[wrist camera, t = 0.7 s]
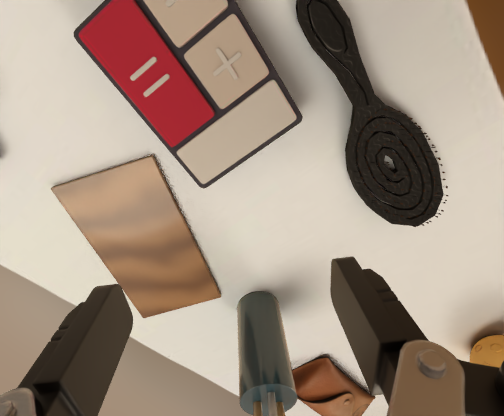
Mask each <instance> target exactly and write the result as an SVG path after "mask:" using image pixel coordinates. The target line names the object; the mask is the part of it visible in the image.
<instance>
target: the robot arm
mask: <svg viewBox="0 0 504 416" xmlns="http://www.w3.org/2000/svg"><path fill="white" fill-rule="evenodd" d="M331 298H332V302H333V306H334V308H335V311H336V313H337V315H338V318H339V320H340V322H341V325H342V327H343V329H344V332H345V334H346V336H347V339H348V341H349V343H350V346H351V348H352V350H353V353H354V355H355V357H356V360H357V362H358V365H359V367H360V369H361V372H362V374H363V376H364V379H365V381H366V383H367V386H368V388H369V390H370V393H371V395H372V396H373V395H381V394H383V395H384V397H385V399H386V401H387V403H388V405H389V408H388V412H387V416H504V361H503V362H502V364H501V366H500V368H498V367H493V366H487V365H481V364H476V363H470V362H465V361H461V360H458V359H456V357H455V356H454V355H453V354H451V353H450V352H449V351H448V350H446V349H445V348H443V347H442V346H440V345H438V344H436V343H433V342H430V341H429V340H428V339H427V338H426V337H425V335H424V334H423V333H422V331H421V330H420V328H419V327H418V326H417V324H416V323H415V321H414V320H413V319H412V317H411V316H410V315H409V313H408V312H407V310H406V309H405V308H404V306H403V305H402V304H401V302H400V301H398V298H397V297H396V295H395V294H394V293H393V291H391V288H390V287H389V286H388V284H387V283H386V282H385V280H384V279H383V277H381V276H380V275H378V274H377V273H375V272H374V271H373V270H371V269H364V270H362V268H361V267H360V265H359V264H358V262H357V261H356V259H355V258H354V257H345V258H337V259H332V263H331ZM132 326H133V316H132V312H131V310H130V307H129V305H128V302H127V300H126V297H125V295H124V293H123V290H122V288H121V286H120V285H119V284H113V285H105V286H97V287H95V288H94V289H93V290H92V292H91V293H90V295H89V297H88V298H87V300H86V301H85V302H82V303H80V304H79V305H78V306H77V307H76V308H75V309H73V310H72V311H71V312H70V313H69V314H68V315H67V316H66V318H65V319H64V321H63V322H62V324H61V325H60V327H59V330H57V331H56V332H55V334H54V335H53V337H52V338H51V342H48V344H47V345H46V347H45V348H44V350H43V351H42V353H41V354H40V356H39V357H38V358H37V360H36V361H35V363H34V364H33V366H32V367H31V369H30V370H29V372H28V373H27V374H26V376H25V377H24V379H23V380H22V382H21V383H20V385H19V386H18V387H17V388H16V389H13V390H10V391H8V392H6V393H4V394H2V395H0V416H98V413H99V411H100V408H101V406H102V403H103V400H104V398H105V395H106V393H107V391H108V388H109V385H110V383H111V380H112V378H113V375H114V373H115V370H116V368H117V365H118V363H119V360H120V357H121V355H122V352H123V350H124V348H125V345H126V343H127V340H128V338H129V335H130V333H131V330H132Z"/></svg>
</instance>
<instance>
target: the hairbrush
mask: <svg viewBox="0 0 504 416" xmlns="http://www.w3.org/2000/svg"><path fill="white" fill-rule="evenodd" d="M308 2H309V0H296V12H297V19H298V22H299V24H300V26H301V28H302V30H303V32H304V35H305V36H306V38H307V40H308V42H309V43H310V45H311V47H312V48H313V50H314V51H315V52H316V53H317V54H318V55H319V56H320V58H321V59H322V60H323V61H324V62H325V63H326V65H327V66H328V67H329V68H330V69H331V70H332V71H333V73H334V74H335V75H336V77H337V79H338V80H339V82H340V84H341V86H342V87H343V89H344V91H345V93H346V94H347V96H348V98H349V100H350V101H351V103H352V105H353V110H352V119H351V126H350V131H349V135H348V139H347V143H346V148H345V152H346V164H347V171H348V174H349V176H350V179H351V182H352V184H353V187H354V189H355V190H356V191H357V193H358V195H359V196H360V197H361V198H362V200H363V201H364V202H365V204H366V205H367V206H368V207H369V208H370V209H372V210H373V211H374V212H375V213H377V214H378V215H379V216H381V217H382V218H384V219H385V220H387V221H388V222H390V223H391V224H399V225H410V226H413V227H416V226H419V225H423V226H424V224H422V223H424V222H425V221H427V220H428V219H430V218H431V217H433V216H435V214H436V212H437V210H438V207H439V205H440V202H441V200H442V197H443V189H442V183H441V177H440V171H439V165H438V162H437V160H436V158H435V156H434V154H433V151H432V150H431V148H435V147H431V148H430V146H429V144H428V142H427V140H426V138H425V136H424V134H427V133H423V132H422V131H421V130H420V129H422V128H421V127H420V126H418V127H420V128H418V127H417V126H416V125H415V124H417V123H413V122H412V121H411V120H410V119H412V118H408V117H407V116H406V114H403V113H401V112H400V111H397V110H395V109H393V108H391V107H389V106H387V105H385V104H384V103H383V102H382V101H381V100H380V99H379V98H378V97H377V96H376V95H375V94H374V91H373V89H372V86H371V84H370V81H369V78H368V76H367V73H366V71H365V68H364V65H363V63H362V60H361V57H360V54H359V51H358V47H357V44H356V40H355V36H354V33H353V29H352V26H351V22H350V19H349V18H348V16H347V15H346V13H345V11H344V10H343V8H342V7H341V5H340V4H339V2H338V1H337V0H312V1H311V3H310V4H309V6H308V7H307V8H306V5H307V4H308ZM307 11H308V13H307ZM310 24H311V25H310ZM311 26H312V28H313V30H314V32H315V34H316V35H315V34H314V32H313V31H312V29H311ZM326 49H327V50H328V51H329V52H330V53H331V54H332V55H333V56H334V57H335V58H336V59H337V60H338V61H339V62H340V63H341V64H342V65H343V66H344V67H345V68H346V69H347V70H346V69H345V68H344V67H343V66H342V65H341V64H340V63H339V62H338V61H337V60H336V59H335V58H334V57H333V56H331V55H330V54H329V53H328V52H327V51H326ZM350 73H351V74H352V75H351V74H350ZM352 76H353V77H354V78H353V77H352ZM354 79H355V80H354ZM356 82H357V83H356ZM380 115H382V116H388V117H390V118H393V119H395V120H396V121H398V122H399V123H400V124H401V125H402V126H403V127H402V126H401V125H399V124H397V123H396V122H394V121H392V120H390V119H389V118H385V117H378V116H380ZM404 128H405V129H404ZM406 130H407V131H406ZM381 131H388V132H390V133H392V134H394V135H396V136H397V137H398V138H399V139H400V141H399V140H398V139H397V138H396V136H394V135H392V134H389V133H386V132H381ZM409 134H410V135H411V136H412V137H413V138H412V137H411V136H410V135H409ZM426 137H428V136H426ZM428 140H430V139H428ZM401 142H402V144H401ZM403 145H404V146H403ZM383 146H385V147H383ZM432 146H434V145H433V144H432ZM387 147H390V148H392V149H394V150H395V151H396V153H394V152H393V151H392V150H391V149H389V148H387ZM435 152H437V151H435ZM397 154H398V155H399V156H398V155H397ZM385 155H386V156H389V157H390V158H391V159H392V160H393V164H394V167H395V169H393V170H391V168H390V169H388V168H387V167H386V166H385V165H386V164H384V158H385ZM364 158H365V159H364ZM401 159H402V160H401ZM438 159H439V160H441V159H440V158H438ZM365 160H366V161H365ZM402 161H403V162H404V163H403V162H402ZM356 162H357V166H358V168H357V166H356ZM387 163H389V162H387ZM376 164H377V165H378V167H379V168H378V167H377V165H376ZM415 164H416V165H415ZM367 165H368V166H367ZM388 166H389V164H388ZM416 166H417V167H416ZM441 166H442V164H441ZM417 168H418V169H417ZM358 169H359V171H358ZM379 169H380V170H381V171H380V170H379ZM370 171H371V173H372V175H373V176H374V177H375V178H374V179H376V180H377V181H378V182H379V183H380V184H381V185H382V186H383V187H384V188H385V189H384V188H382V187H381V186H380V185H379V184H378V183H377V182H376V180H374V179H373V177H372V175H371V173H370ZM359 173H360V174H359ZM382 173H383V174H382ZM442 173H445V172H442ZM384 175H385V176H386V177H388V178H389V179H391V180H392V181H390V180H389V179H387V178H386V177H384ZM361 177H362V178H361ZM362 179H363V180H364V182H365V183H364V184H363V181H362ZM443 180H446V179H443ZM365 185H367V187H368V188H369V189H370V190H371V191H372V192H373V193H374V194H375V195H376V196H377V197H378V198H380V199H381V200H383V201H385V202H387V203H389V204H391V205H389V204H387V203H384V202H381V201H380V200H379V199H378V198H376V197H375V196H374V195H373V194H372V193H371V192H370V190H368V188H367V187H366V186H365ZM446 188H448V186H446ZM386 189H387V190H386ZM391 192H393V193H391ZM394 193H395V194H394ZM446 196H448V195H446ZM445 201H447V200H445ZM443 203H445V202H443ZM392 205H393V206H392ZM441 211H443V210H441ZM443 212H444V211H443ZM438 214H440V213H438ZM440 215H441V214H440ZM435 217H437V218H438V216H435ZM429 222H431V221H429ZM426 223H428V222H426Z"/></svg>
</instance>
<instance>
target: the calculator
mask: <svg viewBox="0 0 504 416" xmlns="http://www.w3.org/2000/svg"><path fill="white" fill-rule="evenodd" d="M74 37H75V39H76V40H77V42H78V43H79V44H80V45H81V46H82V48H83V49H84V50H85V51H86V52H87V54H88V55H89V56H90V57H91V58H92V59H93V61H94V62H95V63H96V64H97V65H98V67H99V68H100V69H101V70H102V71H103V73H104V74H105V75H106V76H107V77H108V78H109V80H110V81H111V82H112V83H113V84H114V86H115V87H116V88H117V89H118V90H119V92H120V93H121V94H122V95H123V96H124V97H125V99H126V100H127V101H128V102H129V103H130V105H131V106H132V107H133V108H134V109H135V111H136V112H137V113H138V114H139V115H140V116H141V118H142V119H143V120H144V121H145V122H146V124H147V125H148V126H149V127H150V128H151V130H152V131H153V132H154V133H155V134H156V135H157V137H158V138H159V139H160V140H161V141H162V143H163V144H164V145H165V146H166V147H167V148H168V150H169V151H170V152H171V153H172V154H173V156H174V157H175V158H176V159H177V160H178V162H179V163H180V164H181V165H182V166H183V167H184V169H185V170H186V171H187V172H188V173H189V175H190V176H191V177H192V178H193V179H194V181H195V182H196V183H197V184H198V185H199V186H200V187H201V188H206V187H208V186H210V185H211V184H212V183H214V182H215V181H217V180H218V179H220V178H221V177H223V176H224V175H225V174H227V173H228V172H230V171H231V170H233V169H234V168H235V167H237V166H238V165H240V164H241V163H243V162H244V161H246V160H247V159H248V158H250V157H251V156H253V155H254V154H256V153H257V152H258V151H260V150H261V149H263V148H264V147H266V146H267V145H268V144H270V143H271V142H273V141H274V140H276V139H277V138H279V137H280V136H281V135H283V134H284V133H286V132H287V131H289V130H290V129H291V128H293V127H294V126H296V125H297V124H299V123H300V122H301V121H302V115H301V113H300V111H299V109H298V107H297V106H296V104H295V102H294V101H293V99H292V97H291V96H290V94H289V92H288V90H287V89H286V87H285V85H284V84H283V82H282V80H281V78H280V77H279V75H278V73H277V72H276V70H275V68H274V67H273V65H272V63H271V61H270V60H269V58H268V56H267V55H266V53H265V51H264V49H263V48H262V46H261V44H260V43H259V41H258V39H257V37H256V36H255V34H254V32H253V31H252V29H251V27H250V26H249V24H248V22H247V20H246V19H245V17H244V15H243V14H242V12H241V10H240V8H239V7H238V5H237V3H236V2H235V0H105V1H104V2H103V3H102V4H101V5H100V6H99V7H98V8H97V9H96V10H95V11H94V12H93V13H92V14H91V15H90V16H89V17H88V18H87V19H86V20H85V21H84V22H82V23H81V24H80V25H79V26H78V27H77V28H76V30H75V31H74Z"/></svg>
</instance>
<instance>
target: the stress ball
mask: <svg viewBox="0 0 504 416" xmlns="http://www.w3.org/2000/svg"><path fill="white" fill-rule="evenodd" d="M503 361H504V335H492V336H488V337H485V338H483V339H481V340H479V341H478V342H477V343H476V344H475V345H474V347H473V348H472V350H471V353H470V363H476V364H481V365H487V366H493V367H498V368H500V366H501V364H502V362H503Z"/></svg>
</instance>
